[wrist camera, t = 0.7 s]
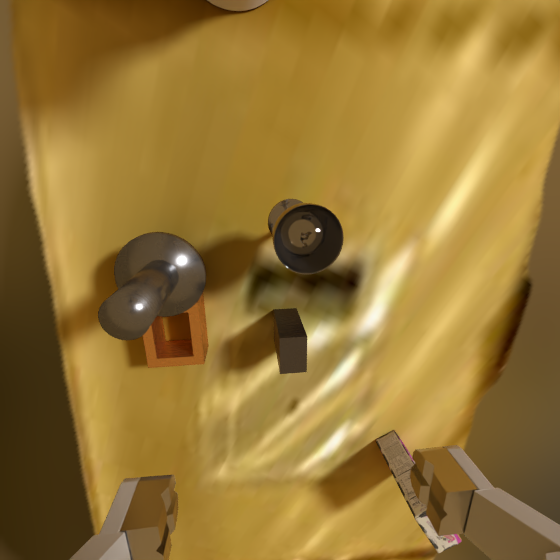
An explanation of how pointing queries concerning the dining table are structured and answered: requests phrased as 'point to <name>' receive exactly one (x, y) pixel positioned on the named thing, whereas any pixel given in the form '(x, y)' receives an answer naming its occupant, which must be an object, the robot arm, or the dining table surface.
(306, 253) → the wine glass
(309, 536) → the dining table surface
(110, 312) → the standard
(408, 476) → the candy bar box
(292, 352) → the dark brown upright block
